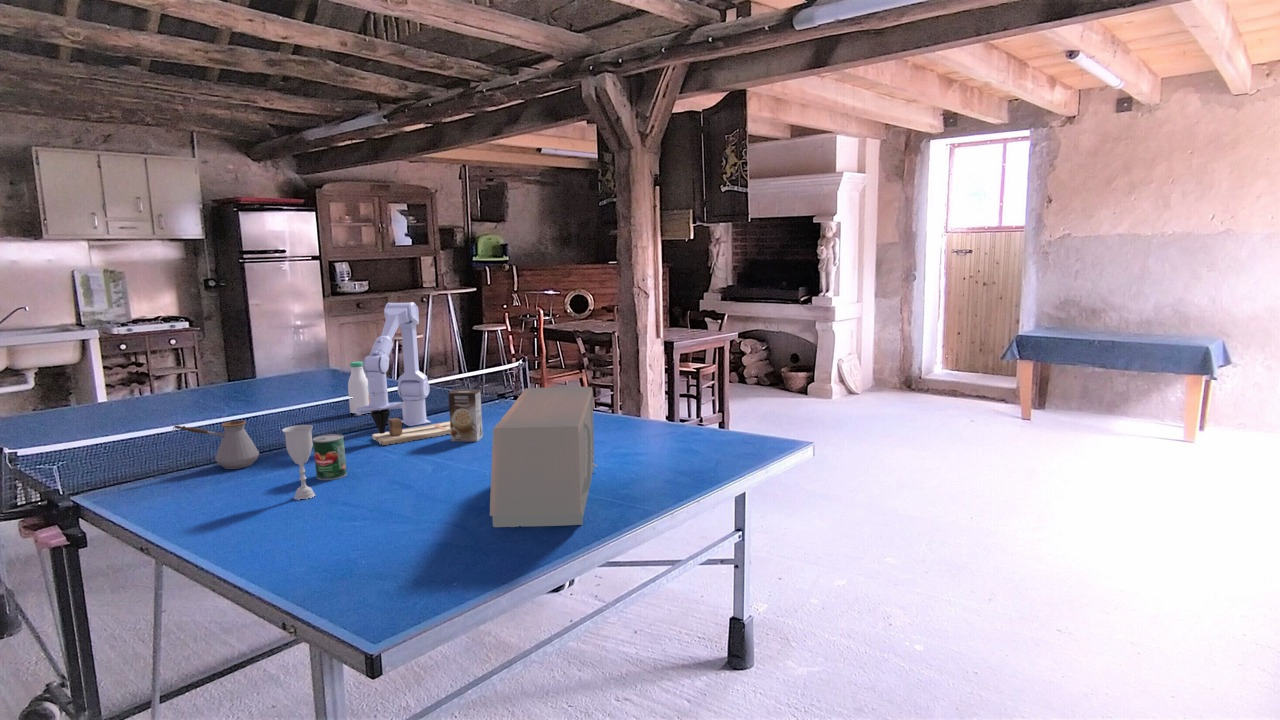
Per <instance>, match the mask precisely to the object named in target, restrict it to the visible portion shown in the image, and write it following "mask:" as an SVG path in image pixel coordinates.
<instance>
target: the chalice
mask: <svg viewBox="0 0 1280 720" xmlns="http://www.w3.org/2000/svg"><path fill="white" fill-rule="evenodd" d="M313 428H314V426H313V425H312V424H298V425H291V426H287V427H284V428H283V429H281V430H282V432H283V434H284V439H285V447H286V448H285V449H286V451H287V453H288V455H289V457H290V458H291V459H292V461H293V462H294V463H295V465H296V464H297V465H298V466H299V471H298V473H299V475H300V477H299V478H298V480H299V481H300V483H301V485H300V486H299V487H298V488H297V489H296V492H295V493H294V497H293V499H294V500H295V499H298V500H297V501H301V500H300V499H306V500H309V499H308V498H310V499H312V497H313V498H315V497H316V493H315V492H314V490H313V488H312V487H310V486H308V485H307V484H306V479H307V477H306V475H305V474H306V469H305V464H306V463H307V462H308V461H309V459H310V456H311V454H312V450H313V447H314V446H313V435H312V430H313ZM314 496H315V497H314Z"/></svg>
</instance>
